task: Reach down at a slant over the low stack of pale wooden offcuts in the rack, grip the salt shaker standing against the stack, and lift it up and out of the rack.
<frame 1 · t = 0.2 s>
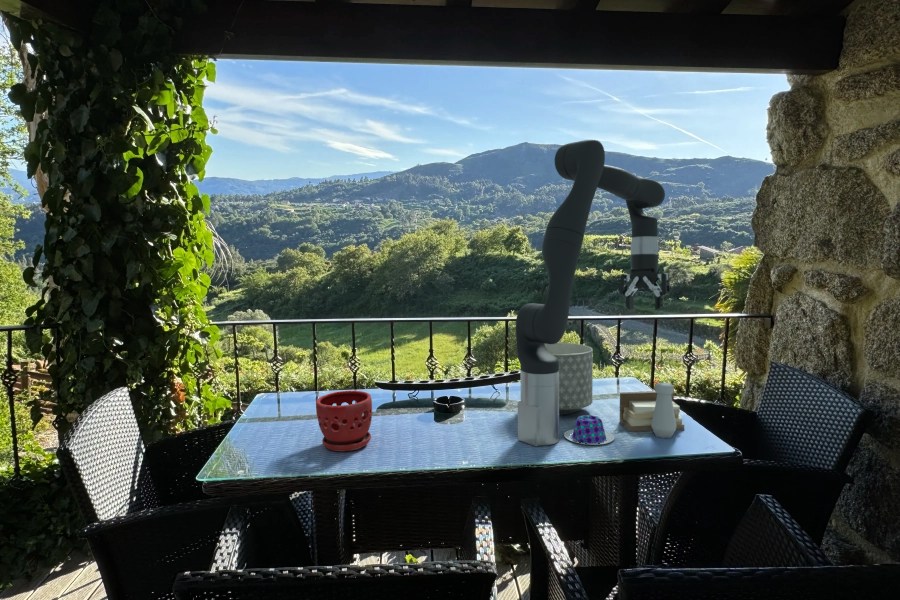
hand: (644, 309, 159), 28 cm above the table, tool pointing down, fingers open, 8 cm apart
planter: (558, 411, 159), on the table
plant pot: (345, 446, 133), on the table
salt shaker: (663, 436, 136), on the table
offcut rack: (663, 435, 136), on the table
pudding: (588, 439, 136), on the table
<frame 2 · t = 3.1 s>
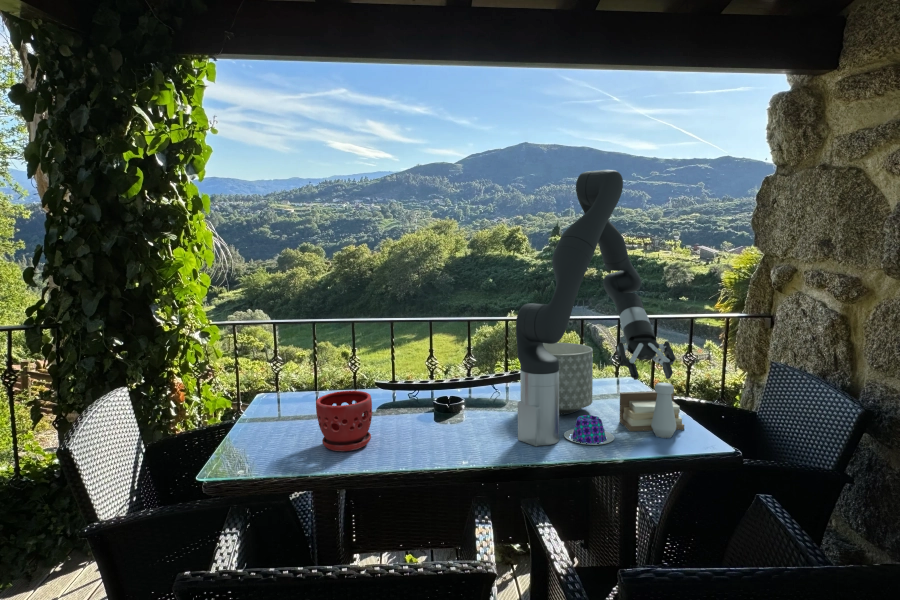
hand: (653, 377, 142), 13 cm above the table, tool tilted 45°, fingers open, 8 cm apart
nothing on the table moved.
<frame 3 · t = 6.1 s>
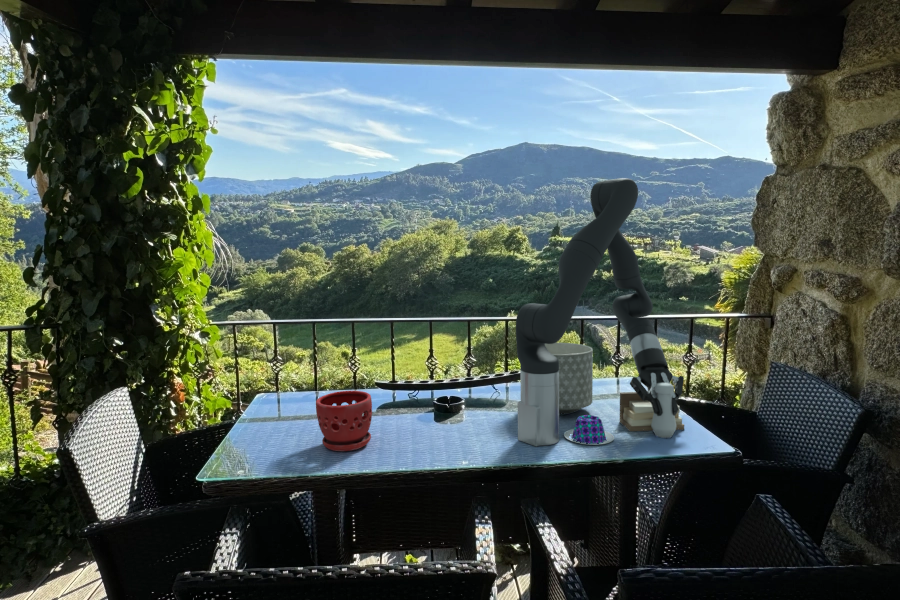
hand: (667, 414, 134), 6 cm above the table, tool tilted 45°, fingers closed on salt shaker, 3 cm apart
salt shaker: (663, 436, 136), on the table, touching gripper
everything else where it was.
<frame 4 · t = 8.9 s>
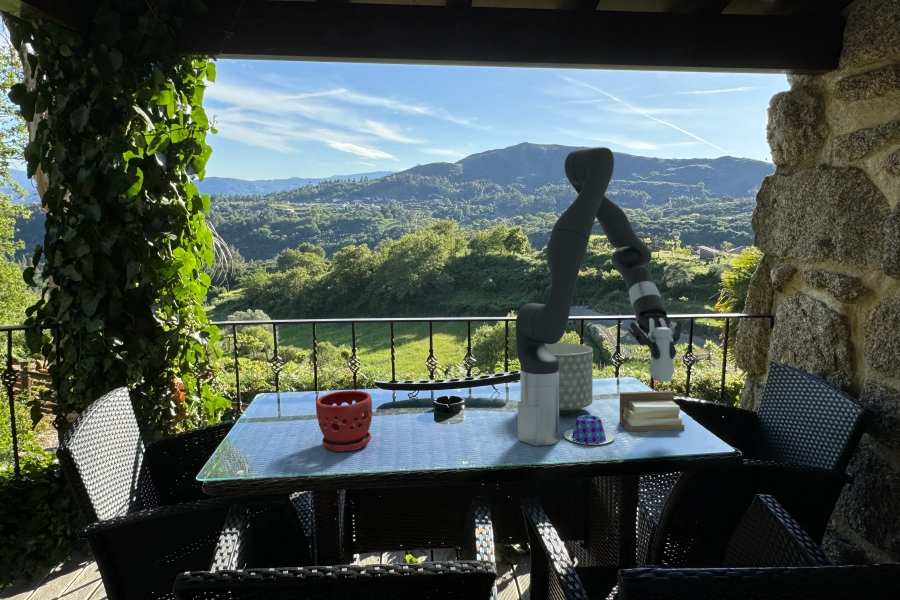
hand: (665, 357, 134), 20 cm above the table, tool tilted 45°, fingers closed on salt shaker, 3 cm apart
salt shaker: (661, 380, 137), point 13 cm above the table, touching gripper
everything else where it was.
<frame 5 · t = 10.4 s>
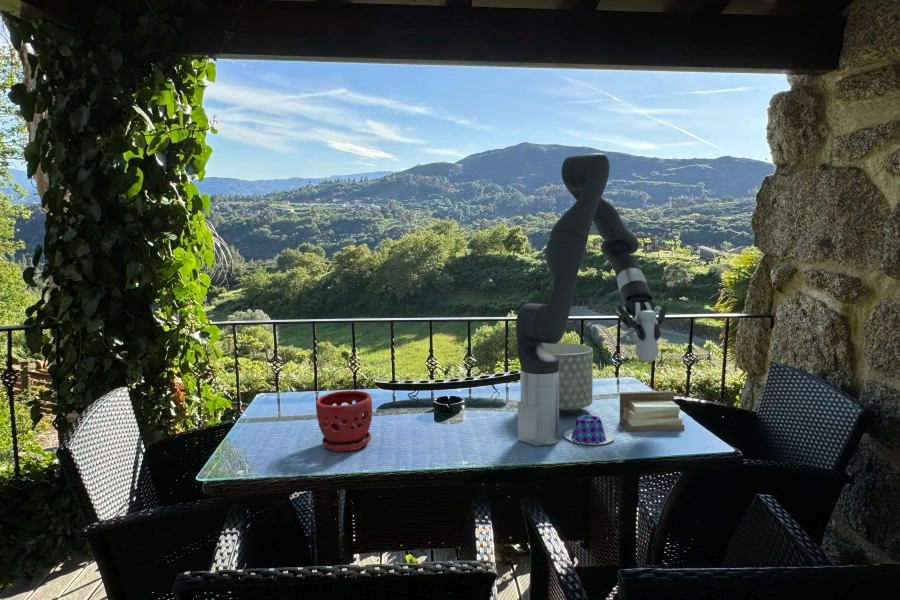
hand: (650, 338, 143), 23 cm above the table, tool tilted 45°, fingers closed on salt shaker, 3 cm apart
salt shaker: (646, 360, 145), point 17 cm above the table, touching gripper
everything else where it was.
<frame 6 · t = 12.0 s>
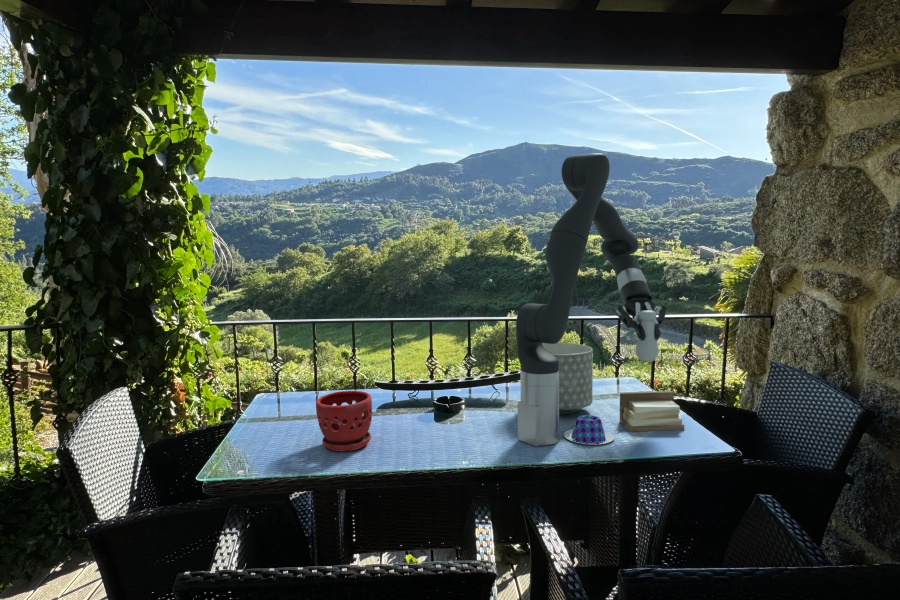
hand: (650, 338, 143), 23 cm above the table, tool tilted 45°, fingers closed on salt shaker, 3 cm apart
salt shaker: (646, 360, 145), point 17 cm above the table, touching gripper
at the end: the gripper is holding salt shaker; salt shaker point 16.6 cm above the table; salt shaker tilted 0° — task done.
